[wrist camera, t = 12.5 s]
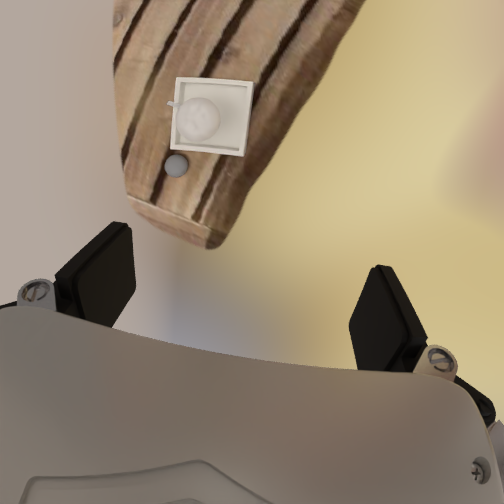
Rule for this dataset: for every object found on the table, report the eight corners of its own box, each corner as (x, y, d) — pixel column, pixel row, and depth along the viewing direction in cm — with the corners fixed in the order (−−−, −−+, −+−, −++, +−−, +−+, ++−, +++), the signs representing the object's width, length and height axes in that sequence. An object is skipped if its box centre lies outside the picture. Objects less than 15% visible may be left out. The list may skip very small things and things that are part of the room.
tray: (182, 78, 32) (176, 77, 30) (254, 83, 32) (253, 81, 29) (176, 145, 36) (170, 149, 34) (245, 153, 36) (243, 156, 34)
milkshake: (207, 87, 32) (181, 83, 23) (240, 113, 33) (225, 117, 24) (185, 114, 34) (153, 120, 25) (216, 140, 35) (195, 153, 26)
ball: (170, 151, 37) (161, 156, 34) (191, 153, 37) (184, 158, 34) (169, 173, 38) (161, 178, 36) (189, 175, 38) (183, 181, 35)
